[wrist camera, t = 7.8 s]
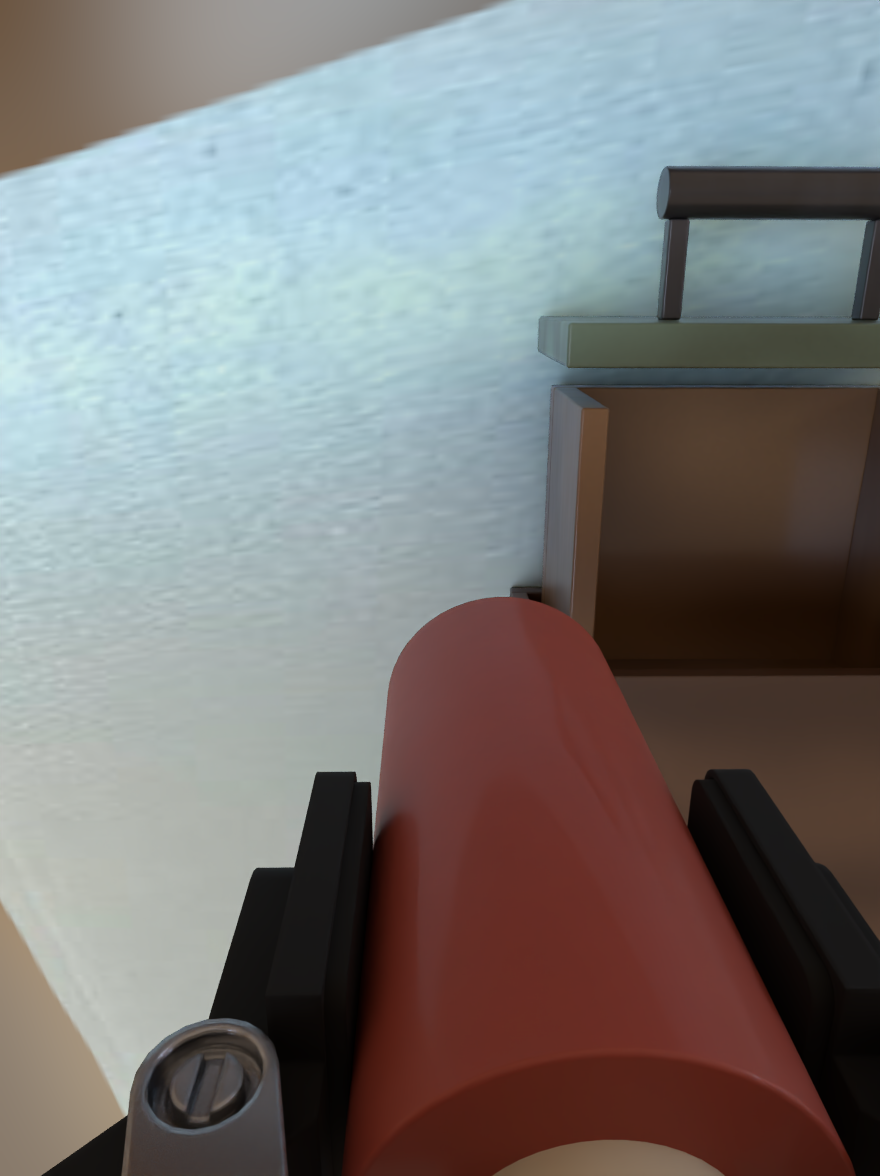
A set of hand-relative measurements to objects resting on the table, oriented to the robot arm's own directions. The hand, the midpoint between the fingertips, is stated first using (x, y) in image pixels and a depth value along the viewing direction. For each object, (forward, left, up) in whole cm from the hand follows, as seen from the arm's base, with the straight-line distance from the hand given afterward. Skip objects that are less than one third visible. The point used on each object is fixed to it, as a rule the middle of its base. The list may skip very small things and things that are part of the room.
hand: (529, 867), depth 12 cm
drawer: (-5, +8, -21) cm, 23 cm away
